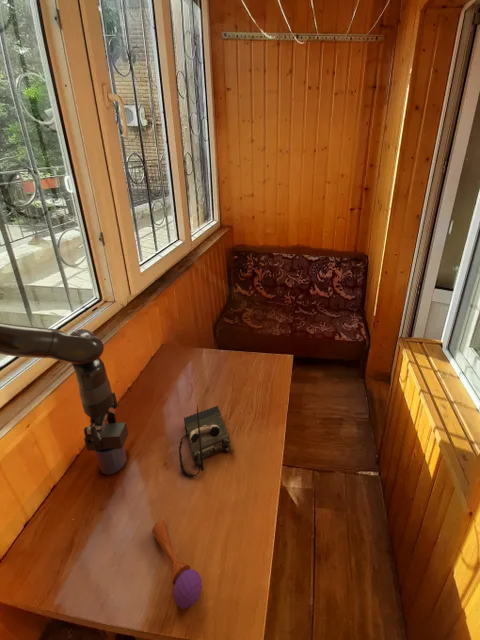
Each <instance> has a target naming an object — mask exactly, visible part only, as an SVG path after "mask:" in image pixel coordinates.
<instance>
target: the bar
mask: <svg viewBox="0 0 480 640" xmlns="http://www.w3.org/2000/svg"><path fill="white" fill-rule="evenodd" d="M95 427H96V428H97V429H98V428H101V426H95ZM98 435H99V432H97V436H98ZM128 436H129V430H128V426H127V421H125V422H116V423H108V422H107V423H105V429H104V431H103V432H102V439H103V443H104V448H103V449H99V450H108V449H122V448H123V445H124V446H125V443H126V441H127V438H128ZM83 440H84V445H85V448H86V450H87V452H92V451H93V452H95V447H94V445H89V446H87V442H86V438H85V437H84V438H83Z"/></svg>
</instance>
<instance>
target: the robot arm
mask: <svg viewBox="0 0 480 640" xmlns="http://www.w3.org/2000/svg"><path fill="white" fill-rule="evenodd" d="M104 349H105V345H104V343H103V341H102V340H101V339H100V338H99V337H98V336H97V335H96V334H95V333H93V332H92V331H91V330H90V329H89V330H88V329H85V328H79V329H75V330H74V331H72V332H71V333H69V334H67V333H65V332H63V331H62V330H59V329H56V328H50V327H49V328H48V327H42V326H41V327H40V326H30V325H22V324H21V325H20V324H11V323H4V322H0V355H4V356H10V357H17V358H32V359H33V358H35V359H51V360H56V361H59V362H60V361H61V362H65V363H69V364H70V363H71V366H72V367H73V370H74V373H75V378H76V382H77V386H78V393H79V394H78V395H79V398H80V402H81V406H82V409H83V413H84V414H85V416H88V417H89V418H90V419H89V423H90V424H89V425H88V426H85V427H84V428H83V433H84V438H86V442H87V446H89V445H94V447H95V450H99V449H103V448H104V443H103V439H102V432H103V431H104V429H105V424H106V421H107V424H108V423H118V421H117V417H116V412H117V410H116V409H117V408H118V406H119V403H118V400H117V397H116V393H115V392H113V390H112V386H111V382H110V380H109V377H108V373H107V369H106V365H105V363H104V361H103V360H102V359H101V358H100V357H101V356H102V355H103V353H104ZM95 426H101V428H98V429H97V428H96V427H95ZM97 432H99V435H98V436H97ZM95 450H94V451H95Z"/></svg>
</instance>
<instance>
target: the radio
mask: <svg viewBox="0 0 480 640" xmlns="http://www.w3.org/2000/svg"><path fill="white" fill-rule="evenodd" d="M183 422H184V423H183V425H184V430H185V435H184V436H182V437H181V438H180V441H179V445H178V455H179V456H178V457H179V465H180V468H181V473H183V474H184V476H186V477H190V478H191V477H192V478H193V477H196V476H197V475H198V474H199V473H200V471H201V472H204V462H203V461H204V459H206V458H209V457H211V456H212V455H215V454H218V453H220V452H223V451H225V452H228V453H229V452H231V451H232V448H231V439H230V435H229V433H228V430H227V428H226V426H225V423H224V419H223V417H222V413H221V410H220V409H219V405H216V406H213V407H210V408H207V409H204V410H203V411H199V407H198V405H197V406H196V413H194V414H191V415H188V416H184V417H183ZM186 437H187V439H188V444H189V448H190V452H191V456H192V462H193V463H194V467H197V468H198V471H197V473H195V474H193V473H189V472H187V471H186V469H185V466H184V464H183V455H182V445H183V442H184V440H183V439H185V438H186Z"/></svg>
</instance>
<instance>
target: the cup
mask: <svg viewBox="0 0 480 640" xmlns="http://www.w3.org/2000/svg"><path fill="white" fill-rule="evenodd" d="M94 452H95V453H94V454H95V457H96V459H97V463H98V467H99V470H100V473H102V474H103V475H113V474H115V473H117V472H118V471H120V470H122V468H123V467H124V466H125V465H126V463H127V458H128V457H127V451H126V448H125V444H124V445H123V448H122V449H108V450H94Z"/></svg>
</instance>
